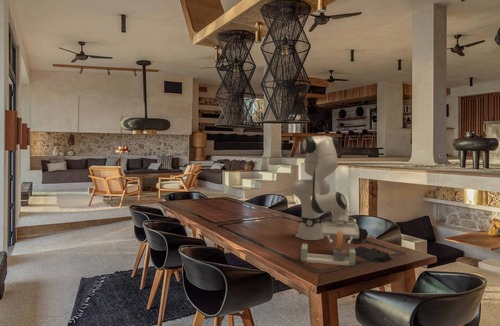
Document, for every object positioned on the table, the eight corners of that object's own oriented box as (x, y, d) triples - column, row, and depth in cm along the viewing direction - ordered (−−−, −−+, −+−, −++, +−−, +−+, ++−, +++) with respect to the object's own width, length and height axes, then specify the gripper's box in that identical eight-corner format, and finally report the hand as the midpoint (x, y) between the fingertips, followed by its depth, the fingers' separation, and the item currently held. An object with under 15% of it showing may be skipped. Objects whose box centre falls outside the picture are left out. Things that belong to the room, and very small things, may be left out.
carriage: (333, 253, 205) (334, 229, 205) (344, 254, 204) (345, 230, 203) (333, 257, 198) (334, 233, 197) (345, 258, 196) (346, 233, 196)
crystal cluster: (341, 242, 243) (342, 227, 242) (350, 236, 254) (351, 222, 252) (361, 248, 235) (362, 233, 233) (369, 242, 245) (371, 227, 243)
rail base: (302, 256, 210) (302, 243, 210) (353, 260, 204) (354, 247, 204) (300, 261, 200) (301, 248, 200) (355, 266, 194) (355, 252, 194)
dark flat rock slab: (365, 250, 226) (366, 242, 226) (395, 260, 207) (395, 252, 206) (346, 253, 219) (346, 245, 219) (375, 264, 199) (375, 255, 199)
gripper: (320, 217, 209) (320, 239, 200) (359, 219, 205) (360, 241, 196) (320, 223, 213) (320, 245, 204) (358, 226, 209) (359, 248, 200)
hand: (339, 243), depth 200 cm, fingers open, 8 cm apart
